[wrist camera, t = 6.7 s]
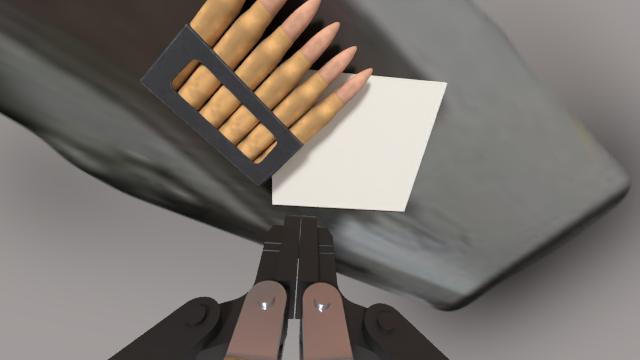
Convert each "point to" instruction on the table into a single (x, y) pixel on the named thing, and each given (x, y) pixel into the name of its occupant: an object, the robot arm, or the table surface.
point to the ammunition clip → (251, 82)
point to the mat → (363, 147)
